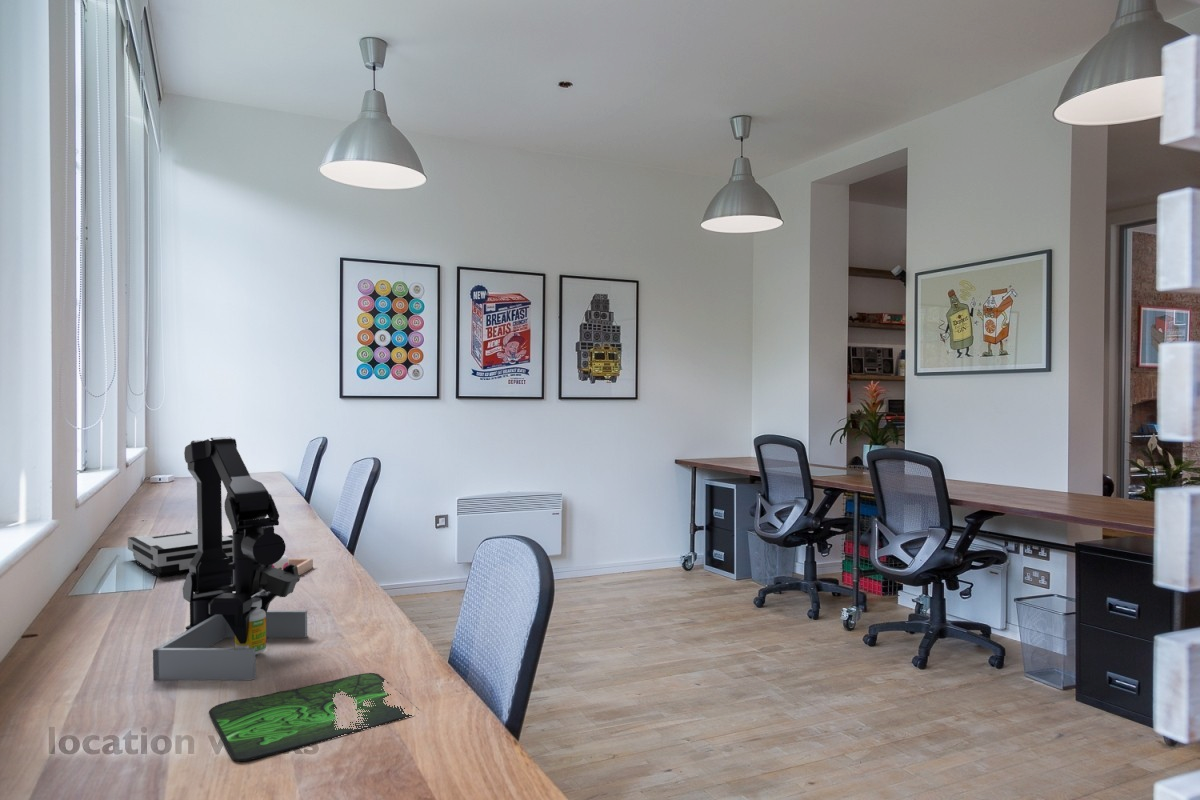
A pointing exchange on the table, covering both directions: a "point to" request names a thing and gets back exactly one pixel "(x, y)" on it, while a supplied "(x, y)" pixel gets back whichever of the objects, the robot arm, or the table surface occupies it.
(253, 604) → the supplement bottle
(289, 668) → the table surface
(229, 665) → the open side box
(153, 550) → the game console
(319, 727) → the mouse mat
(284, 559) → the stress ball
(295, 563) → the ball dish
